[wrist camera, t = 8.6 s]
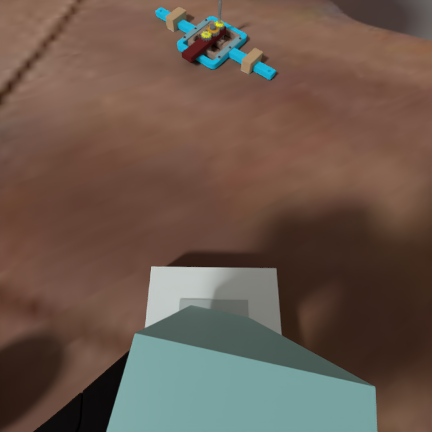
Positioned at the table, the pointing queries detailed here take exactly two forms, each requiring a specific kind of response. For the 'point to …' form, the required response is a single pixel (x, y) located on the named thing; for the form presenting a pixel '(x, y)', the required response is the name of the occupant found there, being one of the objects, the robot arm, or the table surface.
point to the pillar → (234, 381)
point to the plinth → (215, 292)
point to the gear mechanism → (213, 42)
